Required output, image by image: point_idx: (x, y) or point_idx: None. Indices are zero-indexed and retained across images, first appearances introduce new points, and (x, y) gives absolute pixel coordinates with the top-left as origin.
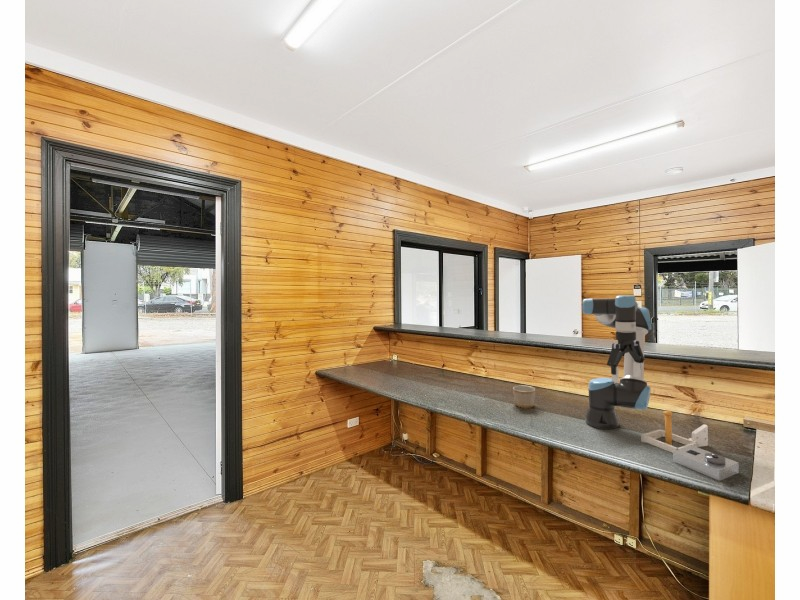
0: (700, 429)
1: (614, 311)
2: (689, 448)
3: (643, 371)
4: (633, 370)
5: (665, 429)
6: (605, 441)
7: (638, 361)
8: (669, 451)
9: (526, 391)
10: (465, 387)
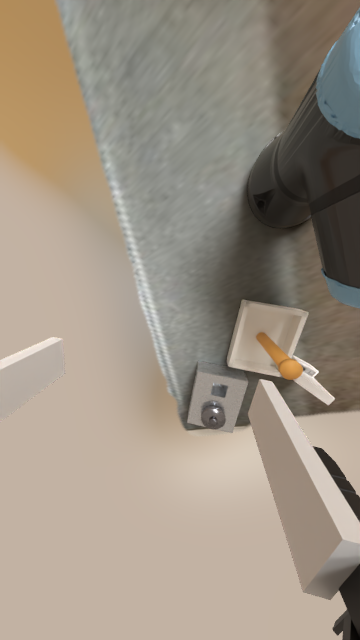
0: (312, 391)
1: None
2: (231, 383)
3: None
4: (277, 415)
5: (267, 345)
6: (192, 255)
7: (357, 623)
8: (230, 348)
9: None
10: None
